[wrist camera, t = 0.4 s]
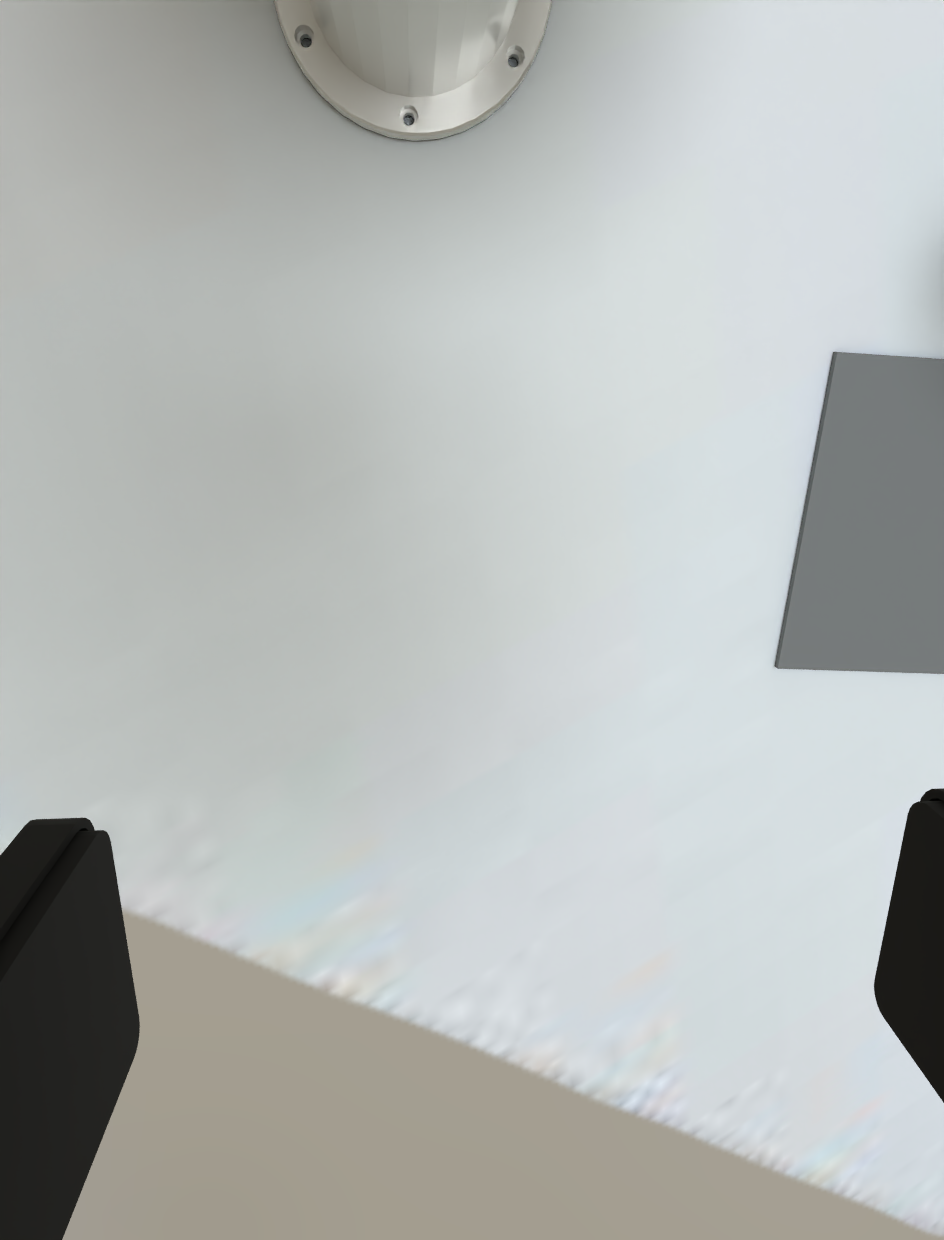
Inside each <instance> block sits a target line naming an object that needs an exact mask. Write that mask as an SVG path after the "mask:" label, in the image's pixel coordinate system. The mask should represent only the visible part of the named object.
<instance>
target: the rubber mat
mask: <svg viewBox="0 0 944 1240" xmlns="http://www.w3.org/2000/svg"><path fill="white" fill-rule="evenodd" d="M775 667H777V668H778V669H808V670H839V671H870V672H902V673H933V674H944V359H932V358H917V357H902V356H887V355H872V354H857V353H842V352H834V353H833V358H832V363H831V369H830V374H829V380H828V385H827V390H826V396H825V401H824V406H823V412H822V417H821V422H820V428H819V433H818V438H817V444H816V449H815V454H814V460H813V465H812V470H811V476H810V481H809V487H808V492H807V497H806V503H805V508H804V513H803V519H802V524H801V529H800V535H799V540H798V545H797V551H796V556H795V561H794V567H793V572H792V577H791V583H790V588H789V593H788V599H787V604H786V610H785V615H784V620H783V626H782V631H781V636H780V642H779V647H778V652H777V658H776V663H775Z"/></svg>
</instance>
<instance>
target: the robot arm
mask: <svg viewBox="0 0 944 1240" xmlns="http://www.w3.org/2000/svg"><path fill="white" fill-rule="evenodd" d="M274 3H275V7H276V11H277V15H278V19H279V23H280V26H281V28H282V31H283V33H284V36H285V38H286V41H287V43H288V46H289V48H290V50H291V51H292V53H293V55H294V57H295V59H296V61H297V63H298V64H299V66H300V68H301V70H302V72H303V73H304V75H305V76H306V77H307V78H308V80H309V81H310V82H311V84H312V85H313V86H314V87H315V89H316V90H317V91H318V93H319V94H320V95H321V96H322V97H323V98H324V99H325V100H326V101H327V102H329V103H330V104H331V105H332V106H333V107H334V108H335V109H336V110H337V111H339V112H340V113H341V114H342V115H344V116H345V117H347V118H349V119H350V120H352V121H354V122H355V123H357V124H358V125H360V126H362V127H363V128H365V129H368V130H371V131H373V132H376V133H379V134H382V135H385V136H387V137H391V138H398V139H405V140H413V141H418V140H431V139H441V138H444V137H447V136H451V135H454V134H457V133H461V132H464V131H466V130H467V129H469V128H471V127H473V126H475V125H477V124H478V123H480V122H482V121H484V120H486V119H487V118H488V117H489V116H490V115H492V114H493V113H494V112H495V111H496V110H497V109H499V108H500V107H501V106H502V105H503V104H504V103H506V102H507V100H508V99H509V98H510V97H511V95H512V94H513V93H514V91H515V90H516V89H517V88H518V86H519V85H520V84H521V83H522V81H523V80H524V78H525V76H526V74H527V72H528V71H529V69H530V67H531V65H532V63H533V61H534V59H535V57H536V56H537V53H538V50H539V47H540V45H541V42H542V40H543V37H544V35H545V31H546V26H547V22H548V18H549V14H550V10H551V6H552V0H274ZM304 38H309V39H311V41H312V43H311V46H310V47H307V48H305V47H303V46H302V45H301V42H302V40H303V39H304ZM512 57H514V58H516V59H517V61H518V66H517V67H511V66H510V65H509V64H508V60H509V59H510V58H512ZM408 115H410V116H412V117H413V118H414V123H413V124H412V125H410V126H408V125H406V124H405V123H404V122H403V120H404V118H405V117H406V116H408ZM874 991H875V997H876V1001H877V1005H878V1007H879V1010H880V1012H881V1014H882V1015H883V1017H884V1019H885V1020H886V1022H887V1023H888V1024H889V1026H890V1027H891V1029H892V1030H893V1031H894V1033H895V1034H896V1036H897V1037H898V1038H899V1040H900V1041H901V1043H902V1044H903V1046H904V1047H905V1048H906V1050H907V1051H908V1053H909V1054H910V1055H911V1057H912V1058H913V1060H914V1061H915V1063H916V1064H917V1065H918V1067H919V1068H920V1070H921V1071H922V1072H923V1074H924V1075H925V1077H926V1078H927V1080H928V1081H929V1082H930V1084H931V1085H932V1087H933V1088H934V1089H935V1091H936V1092H937V1094H938V1095H939V1097H940V1098H941V1099H942V1101H943V1102H944V789H931V790H929V791H927V792H926V793H925V794H924V795H923V796H922V798H921V800H920V802H916V803H914V804H913V805H912V806H911V808H910V810H909V813H908V816H907V821H906V826H905V831H904V836H903V841H902V846H901V851H900V856H899V861H898V866H897V871H896V876H895V881H894V886H893V891H892V896H891V901H890V906H889V911H888V916H887V921H886V926H885V931H884V936H883V941H882V946H881V951H880V956H879V961H878V966H877V971H876V976H875V982H874ZM139 1026H140V1025H139V1014H138V1008H137V1001H136V996H135V989H134V983H133V977H132V970H131V964H130V959H129V953H128V946H127V940H126V933H125V927H124V921H123V915H122V908H121V902H120V896H119V890H118V884H117V877H116V871H115V865H114V859H113V853H112V846H111V841H110V837H109V835H108V833H107V832H106V831H104V830H97V831H95V830H94V827H93V825H92V823H91V821H90V820H88V819H87V818H64V819H36V820H31V821H30V822H29V823H27V824H26V825H25V826H24V827H23V829H22V830H21V831H20V832H19V833H18V835H17V836H16V837H15V838H14V840H13V841H12V842H11V843H10V844H9V846H8V847H7V848H6V849H5V851H4V852H3V853H2V854H1V855H0V1240H62V1238H63V1236H64V1234H65V1231H66V1228H67V1226H68V1223H69V1221H70V1218H71V1216H72V1213H73V1211H74V1208H75V1206H76V1203H77V1201H78V1198H79V1196H80V1193H81V1191H82V1188H83V1185H84V1183H85V1180H86V1178H87V1175H88V1173H89V1170H90V1168H91V1165H92V1163H93V1160H94V1158H95V1155H96V1153H97V1150H98V1148H99V1145H100V1142H101V1140H102V1138H103V1135H104V1132H105V1130H106V1127H107V1125H108V1122H109V1120H110V1117H111V1115H112V1112H113V1110H114V1107H115V1105H116V1102H117V1100H118V1097H119V1094H120V1092H121V1089H122V1087H123V1084H124V1082H125V1079H126V1077H127V1074H128V1072H129V1069H130V1067H131V1064H132V1062H133V1059H134V1056H135V1053H136V1050H137V1045H138V1040H139Z"/></svg>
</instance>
